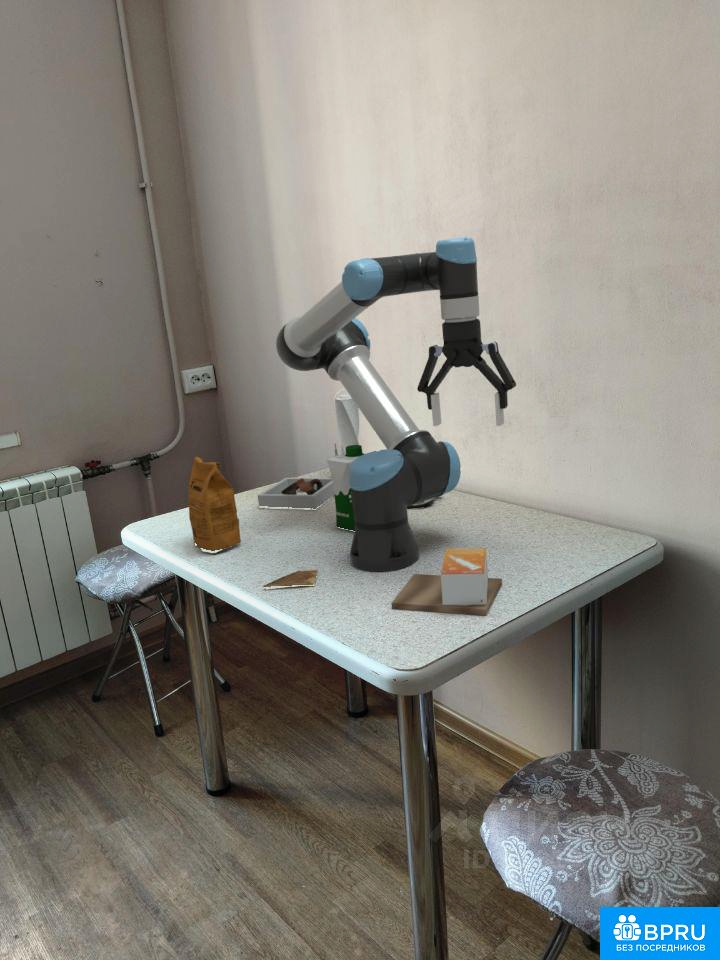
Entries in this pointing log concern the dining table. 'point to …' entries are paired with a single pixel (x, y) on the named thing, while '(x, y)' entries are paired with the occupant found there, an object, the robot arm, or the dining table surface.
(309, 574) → the shard
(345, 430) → the skyscraper
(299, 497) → the shallow grey tray
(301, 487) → the pottery mug
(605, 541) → the dining table surface
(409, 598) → the walnut board
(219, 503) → the coffee package
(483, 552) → the small box
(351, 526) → the milk carton
